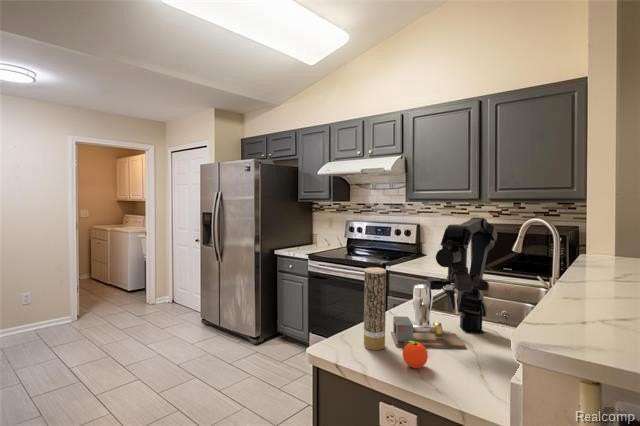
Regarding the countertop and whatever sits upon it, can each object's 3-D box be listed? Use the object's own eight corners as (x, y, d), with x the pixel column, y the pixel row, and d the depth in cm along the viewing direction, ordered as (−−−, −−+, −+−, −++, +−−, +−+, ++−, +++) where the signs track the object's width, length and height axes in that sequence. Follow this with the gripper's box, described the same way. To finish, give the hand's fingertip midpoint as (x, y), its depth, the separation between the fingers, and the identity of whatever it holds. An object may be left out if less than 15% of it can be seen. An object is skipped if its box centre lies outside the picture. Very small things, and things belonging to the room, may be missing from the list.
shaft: (438, 333, 118) (438, 320, 118) (442, 339, 114) (442, 325, 113) (402, 333, 119) (403, 319, 119) (405, 338, 114) (405, 324, 114)
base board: (454, 335, 121) (454, 333, 121) (465, 348, 111) (465, 345, 111) (391, 334, 122) (391, 331, 122) (396, 346, 112) (396, 343, 112)
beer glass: (433, 330, 126) (433, 289, 125) (413, 328, 127) (414, 288, 127) (430, 323, 133) (431, 284, 132) (412, 321, 134) (412, 283, 133)
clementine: (394, 362, 101) (395, 338, 101) (412, 357, 104) (412, 334, 104) (414, 375, 94) (415, 349, 94) (432, 369, 97) (433, 344, 97)
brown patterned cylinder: (389, 346, 112) (390, 269, 111) (377, 353, 107) (378, 273, 106) (371, 340, 117) (372, 266, 116) (359, 346, 112) (360, 269, 111)
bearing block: (407, 333, 120) (407, 316, 120) (412, 342, 112) (413, 325, 112) (393, 332, 121) (393, 316, 120) (397, 342, 113) (397, 324, 112)
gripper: (435, 267, 107) (434, 317, 108) (497, 268, 106) (496, 318, 107) (426, 260, 118) (425, 306, 119) (482, 261, 117) (480, 307, 118)
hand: (456, 309), depth 115 cm, fingers closed
